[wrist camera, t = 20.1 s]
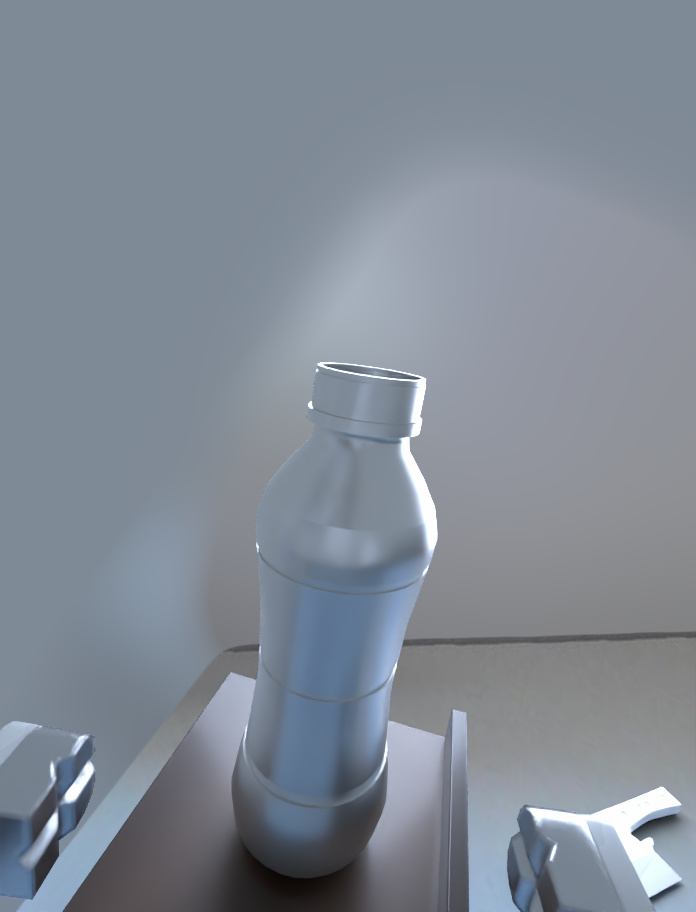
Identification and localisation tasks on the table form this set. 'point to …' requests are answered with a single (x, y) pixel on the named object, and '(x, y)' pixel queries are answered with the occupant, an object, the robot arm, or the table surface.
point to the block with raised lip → (244, 877)
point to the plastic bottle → (333, 621)
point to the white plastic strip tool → (641, 854)
